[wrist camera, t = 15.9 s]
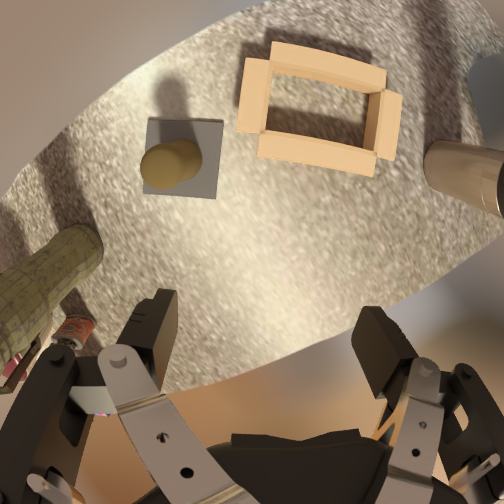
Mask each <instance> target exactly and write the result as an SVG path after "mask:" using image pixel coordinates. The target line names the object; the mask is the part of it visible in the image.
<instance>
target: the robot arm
mask: <svg viewBox="0 0 504 504" xmlns="http://www.w3.org/2000/svg"><path fill="white" fill-rule="evenodd" d="M424 172H425V176H426V179H427V181H428V183H429V184H430V186H431V187H432V188H433V189H435V190H437V191H439V192H442V193H444V194H447V195H449V196H452V197H454V198H456V199H459V200H461V201H464V202H466V203H468V204H471V205H473V206H475V207H477V208H480V209H482V210H484V211H486V212H488V213H490V214H493V215H495V216H497V217H499V218H501V219H503V220H504V150H499V149H494V148H489V147H483V146H478V145H472V144H465V143H459V142H452V141H443V140H439V141H436V142H434V143H433V144H431V145H430V147H429V148H428V150H427V152H426V154H425V158H424ZM177 329H178V301H177V291H176V290H170V289H162V288H159V289H158V290H157V292H156V294H155V296H154V298H153V299H147V298H145V299H144V300H142V301H141V302H140V303H138V304H137V305H136V307H135V309H134V311H133V312H132V314H131V316H130V318H129V321H127V323H126V325H125V327H124V329H123V331H122V333H121V335H120V336H119V338H118V340H117V342H116V344H114V345H110V346H108V347H106V348H104V349H103V350H102V351H101V352H100V353H99V355H98V356H94V357H76V356H75V353H74V351H73V350H72V349H71V348H70V347H68V346H66V345H62V344H58V345H53V346H50V347H48V348H46V349H45V350H44V351H43V352H42V353H41V355H40V357H39V358H38V360H37V362H36V363H35V365H34V367H33V368H32V370H31V372H30V373H29V375H28V377H27V379H26V380H25V382H24V384H23V386H22V388H21V390H20V391H19V393H18V395H17V397H16V399H15V401H14V403H13V405H12V407H11V409H10V411H9V413H8V415H7V417H6V419H5V421H4V423H3V426H2V428H1V430H0V504H86V502H85V499H84V497H83V496H82V494H81V493H80V492H79V491H78V490H77V489H75V488H74V487H75V482H76V478H77V474H78V470H79V466H80V462H81V458H82V455H83V451H84V447H85V444H86V440H87V437H88V434H89V430H90V427H91V424H92V421H93V418H94V415H95V414H116V413H117V414H118V416H119V419H120V421H121V423H122V425H123V427H124V429H125V431H126V433H127V435H128V437H129V439H130V441H131V443H132V445H133V447H134V448H135V450H136V452H137V454H138V456H139V457H140V459H141V461H142V463H143V465H144V466H145V468H146V470H147V471H148V473H149V475H150V476H151V477H152V479H153V481H154V482H155V484H156V487H155V488H153V489H152V490H151V491H149V492H148V493H147V494H145V495H144V496H143V497H141V498H140V499H138V500H137V501H135V502H134V503H132V504H498V503H500V502H501V501H503V500H504V416H503V415H502V413H501V411H500V409H499V407H498V406H497V404H496V402H495V401H494V399H493V398H492V396H491V394H490V392H489V391H488V389H487V388H486V386H485V385H484V383H483V382H482V380H481V378H480V377H479V375H478V374H477V372H476V371H475V370H474V369H473V368H472V367H471V366H469V365H467V364H464V363H459V364H457V365H456V366H455V368H454V369H453V371H452V372H445V371H440V369H439V367H438V365H437V364H436V363H435V362H433V361H432V360H430V359H428V358H425V357H419V356H418V354H417V353H416V351H415V350H414V348H413V347H412V345H411V344H410V342H409V341H408V339H406V336H405V335H404V333H402V331H401V329H400V328H399V326H398V325H397V324H396V323H395V322H394V321H393V320H392V319H390V318H389V317H388V316H387V315H386V314H385V312H384V311H383V309H382V308H381V307H380V306H364V307H363V308H362V310H361V312H360V315H359V318H358V320H357V323H356V325H355V328H354V330H353V333H352V338H351V341H352V342H351V343H352V347H353V349H354V351H355V353H356V356H357V358H358V360H359V362H360V364H361V367H362V369H363V371H364V374H365V376H366V378H367V381H368V383H369V385H370V387H371V390H372V392H373V395H374V397H375V399H382V398H386V399H387V402H386V403H385V405H384V407H383V409H382V412H381V415H380V417H379V420H378V422H377V425H376V427H375V430H374V432H373V434H372V436H371V438H366V437H361V436H360V432H359V429H351V430H344V431H334V432H329V433H326V434H323V435H319V436H317V437H313V438H310V439H306V440H303V441H296V440H290V439H284V438H279V437H274V436H269V435H253V434H232V435H231V442H226V443H221V444H217V445H214V446H211V447H208V448H205V447H204V446H203V445H202V443H201V442H200V441H199V439H198V438H197V437H196V435H195V434H194V433H193V431H192V430H191V429H190V427H189V426H188V425H187V423H186V422H185V420H184V419H183V418H182V416H181V415H180V413H179V412H178V411H177V409H176V407H175V406H174V404H173V403H172V402H171V400H170V399H169V397H168V396H167V395H166V394H161V393H160V391H161V388H162V384H163V380H164V377H165V373H166V369H167V366H168V362H169V359H170V355H171V352H172V348H173V345H174V341H175V338H176V334H177ZM460 404H461V405H462V407H463V409H464V410H465V412H466V414H467V416H468V420H469V422H468V426H467V428H466V429H465V430H464V431H462V429H461V427H460V424H459V422H458V420H457V418H456V416H455V414H454V411H455V410H456V409H457V408H458V407H459V405H460ZM437 451H438V453H439V455H440V458H441V461H442V464H443V466H444V469H445V472H446V475H447V478H448V481H449V486H448V485H446V484H444V483H443V482H441V481H440V480H438V479H436V478H435V477H433V476H432V473H433V469H434V465H435V460H436V456H437Z"/></svg>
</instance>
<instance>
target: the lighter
mask: <svg viewBox="0 0 504 504" xmlns="http://www.w3.org/2000/svg"><path fill="white" fill-rule="evenodd" d="M96 326H97V322H96V320H95V319H94V318H93V317H91V316H88V315H83V314H71V315H68V316H67V317H66V320H65V321H64V322H63V324H62V325H61V326H60V328H59V329H58V330H57V331H56V333H55V334H53V335H52V337H51V340H52V342H53V343H51V344H50V345H49V347H50V346H53V345H58V344H62V345H66V346H68V347H70V348H71V349H72V350H73V351H74V350H81V349H82V348H83V346H84V343H85V341H86V339H87V338H88V336H89V335H90V333H91V332H92V330H93V329H95V327H96Z"/></svg>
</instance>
